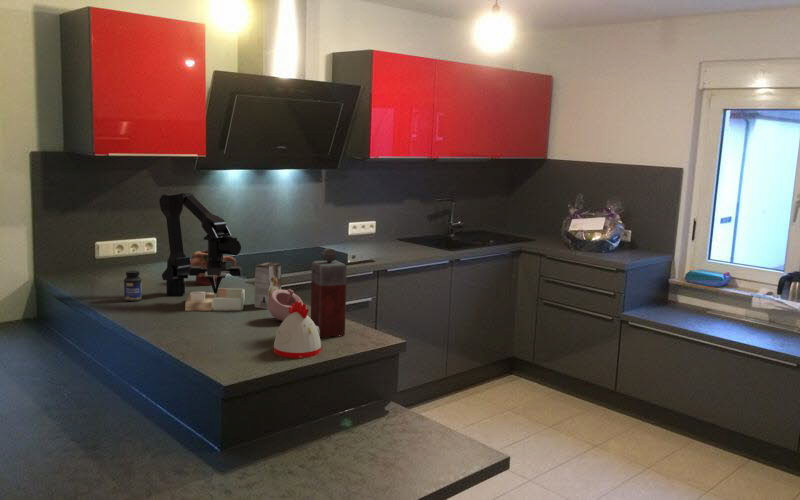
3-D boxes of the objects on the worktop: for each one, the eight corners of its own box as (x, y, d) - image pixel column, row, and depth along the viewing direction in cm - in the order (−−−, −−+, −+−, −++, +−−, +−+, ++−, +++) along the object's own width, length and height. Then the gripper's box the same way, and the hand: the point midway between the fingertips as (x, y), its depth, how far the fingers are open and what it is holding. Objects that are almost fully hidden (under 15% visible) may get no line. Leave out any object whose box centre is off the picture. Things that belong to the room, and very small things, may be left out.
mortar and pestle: (286, 326, 228) (287, 293, 226) (260, 321, 234) (260, 288, 232) (309, 320, 238) (310, 288, 236) (283, 314, 244) (284, 283, 242)
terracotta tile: (219, 290, 255) (226, 290, 256) (219, 288, 260) (226, 288, 260) (219, 302, 256) (225, 302, 257) (219, 299, 260) (226, 299, 261)
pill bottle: (125, 302, 253) (124, 273, 251) (123, 299, 258) (122, 270, 256) (142, 301, 255) (142, 272, 254) (140, 298, 261) (140, 269, 259)
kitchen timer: (294, 361, 192) (295, 309, 190) (264, 350, 201) (264, 300, 199) (330, 351, 202) (332, 302, 200) (300, 342, 211) (301, 294, 209)
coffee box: (267, 302, 262) (267, 261, 259) (281, 304, 259) (282, 263, 257) (253, 307, 253) (254, 264, 251) (268, 309, 251) (269, 266, 248)
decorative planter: (235, 280, 302) (235, 249, 300) (236, 285, 290) (236, 253, 288) (188, 280, 297) (188, 249, 295) (187, 286, 285) (186, 253, 283)
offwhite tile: (191, 301, 246) (191, 294, 246) (192, 298, 250) (192, 291, 250) (204, 301, 247) (204, 294, 247) (205, 298, 251) (205, 291, 251)
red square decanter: (333, 327, 230) (335, 245, 226) (345, 335, 220) (347, 250, 216) (307, 329, 226) (309, 245, 222) (318, 338, 216) (320, 250, 212)
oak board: (185, 310, 244) (185, 302, 244) (190, 300, 260) (190, 292, 260) (211, 310, 246) (211, 302, 245) (215, 300, 262) (215, 292, 262)
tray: (212, 310, 246) (212, 298, 245) (216, 300, 262) (216, 288, 262) (242, 310, 248) (242, 298, 247) (244, 300, 264) (244, 288, 264)
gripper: (187, 255, 246) (187, 298, 248) (240, 256, 249) (239, 298, 251) (190, 251, 256) (190, 291, 259) (241, 251, 260) (241, 291, 262)
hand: (215, 293), depth 257 cm, fingers closed
